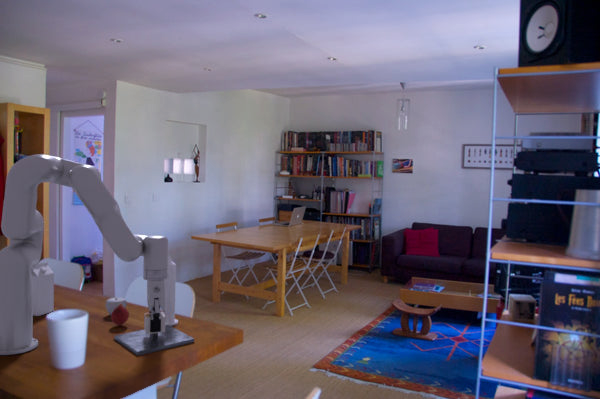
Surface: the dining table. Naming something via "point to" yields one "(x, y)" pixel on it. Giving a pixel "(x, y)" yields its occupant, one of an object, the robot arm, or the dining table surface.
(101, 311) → the dining table surface
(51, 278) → the milk carton
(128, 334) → the hub plate
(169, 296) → the candle
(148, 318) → the white cube box
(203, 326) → the dining table surface
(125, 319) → the onion
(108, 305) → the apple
